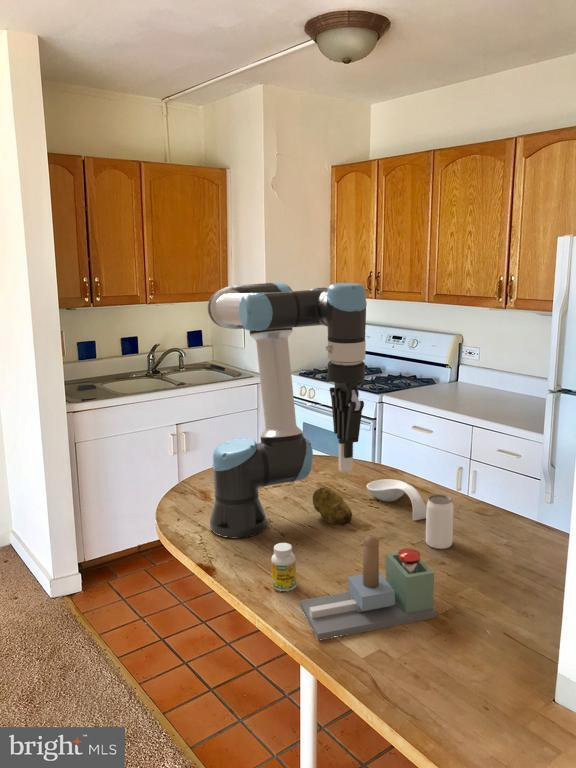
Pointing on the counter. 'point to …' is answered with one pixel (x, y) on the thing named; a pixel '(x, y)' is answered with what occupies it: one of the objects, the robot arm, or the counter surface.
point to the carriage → (371, 581)
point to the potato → (331, 506)
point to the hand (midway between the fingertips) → (345, 469)
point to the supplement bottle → (283, 567)
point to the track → (343, 618)
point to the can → (439, 522)
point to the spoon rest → (398, 494)
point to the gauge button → (409, 559)
